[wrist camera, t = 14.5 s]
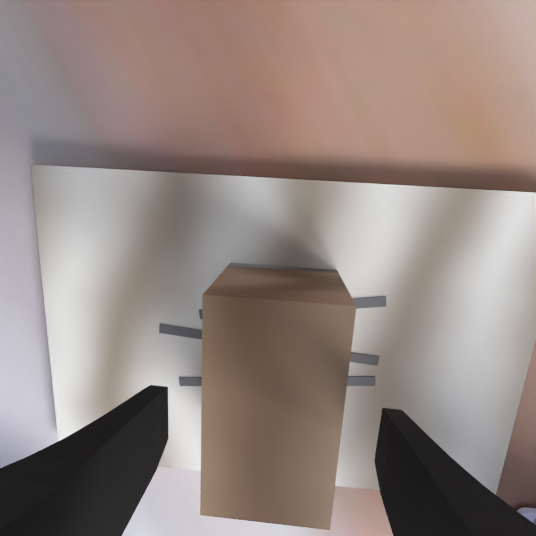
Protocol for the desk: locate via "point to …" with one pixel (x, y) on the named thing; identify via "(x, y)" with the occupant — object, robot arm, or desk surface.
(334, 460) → the block
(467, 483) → the robot arm
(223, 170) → the desk surface
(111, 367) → the board
